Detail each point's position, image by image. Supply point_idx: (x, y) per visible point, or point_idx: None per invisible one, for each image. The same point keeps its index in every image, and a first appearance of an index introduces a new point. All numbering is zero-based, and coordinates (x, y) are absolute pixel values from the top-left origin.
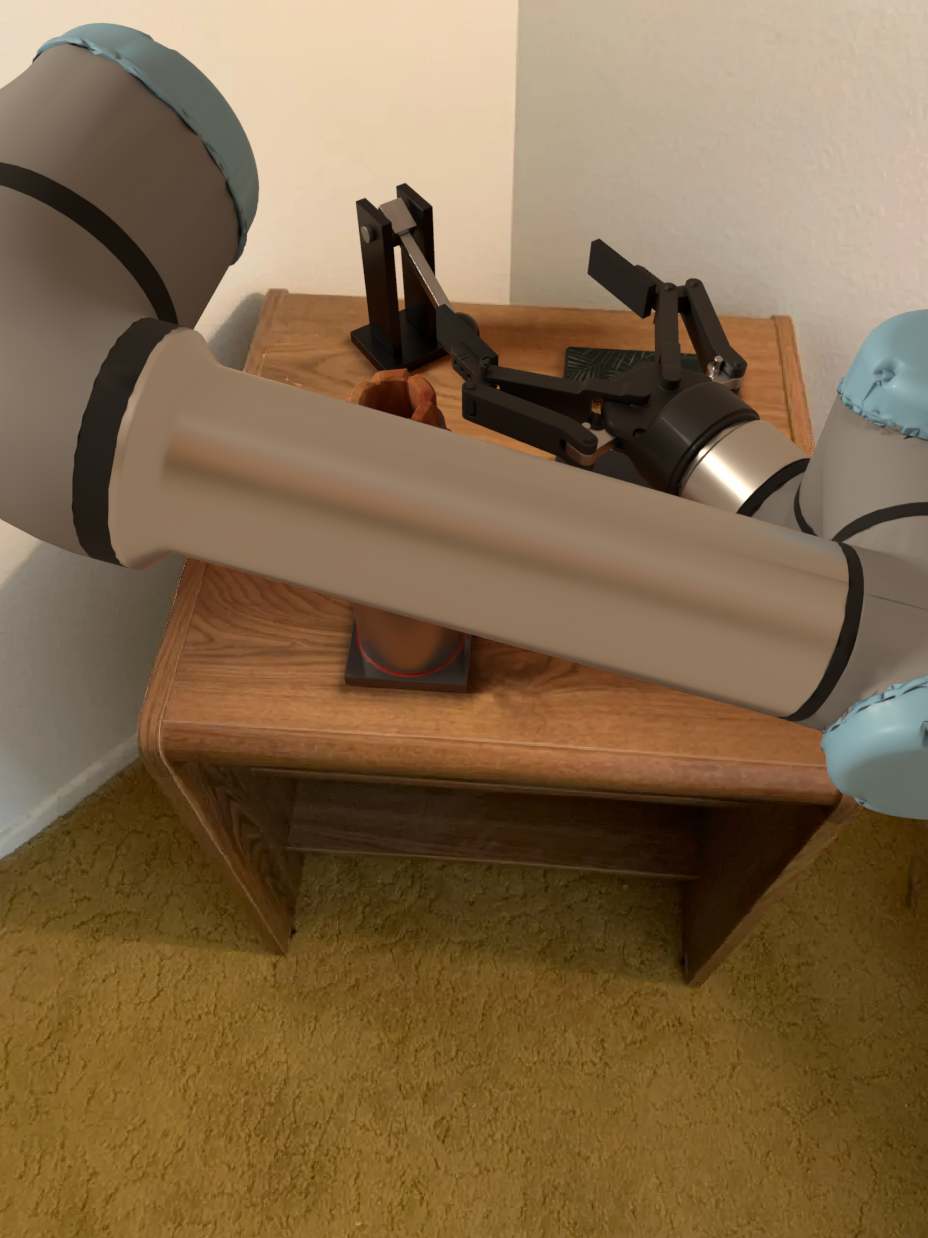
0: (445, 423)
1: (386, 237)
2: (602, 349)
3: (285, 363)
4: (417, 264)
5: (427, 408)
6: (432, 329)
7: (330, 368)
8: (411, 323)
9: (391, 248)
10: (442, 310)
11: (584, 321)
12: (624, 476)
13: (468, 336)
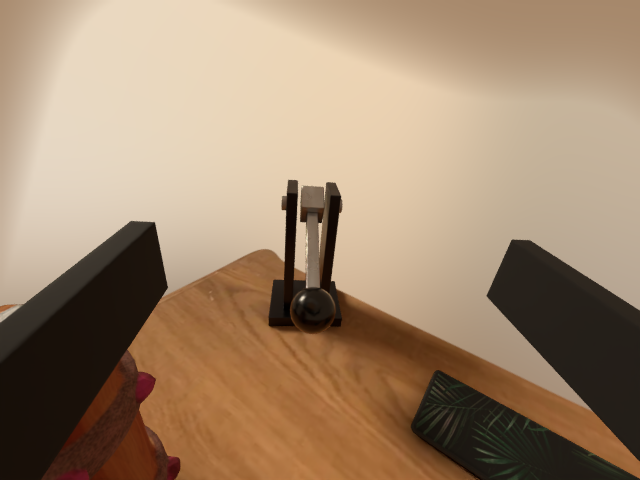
0: (87, 454)
1: (289, 205)
2: (475, 391)
3: (221, 282)
4: (308, 236)
5: None
6: None
7: (242, 297)
8: None
9: (293, 217)
10: (128, 228)
11: (462, 351)
12: None
13: (41, 294)
